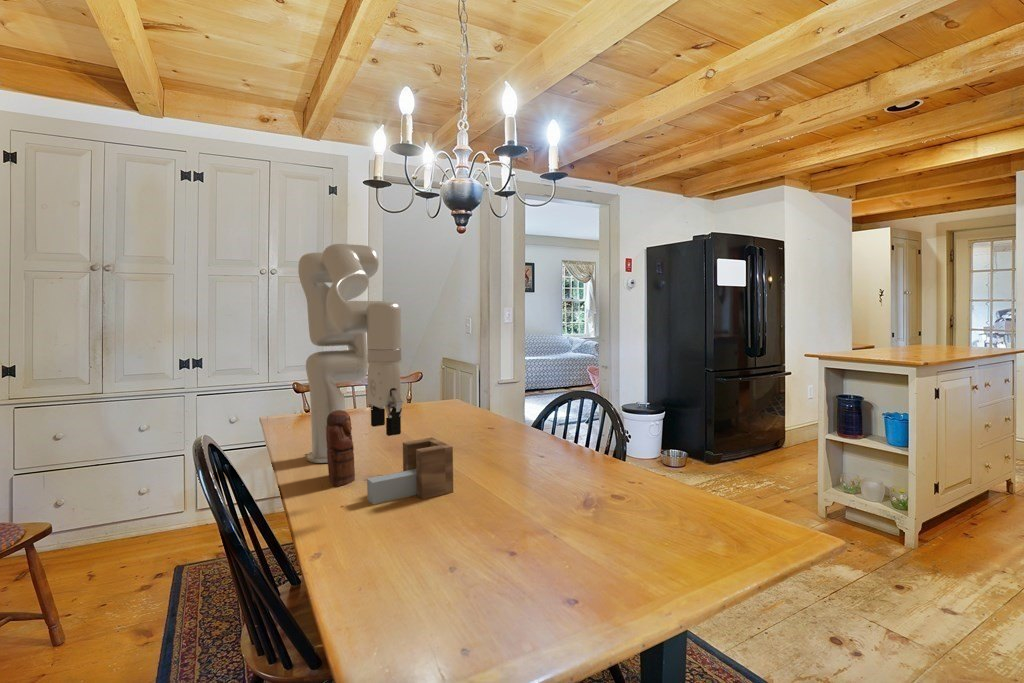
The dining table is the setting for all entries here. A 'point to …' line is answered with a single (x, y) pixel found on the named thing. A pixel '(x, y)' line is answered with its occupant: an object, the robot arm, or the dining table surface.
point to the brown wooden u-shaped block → (430, 466)
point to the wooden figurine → (340, 448)
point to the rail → (392, 486)
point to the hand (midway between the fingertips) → (385, 430)
